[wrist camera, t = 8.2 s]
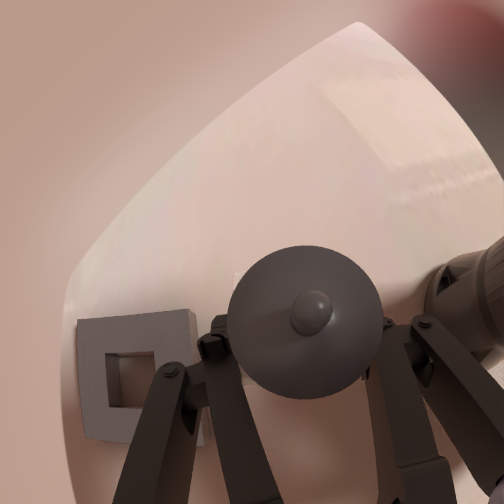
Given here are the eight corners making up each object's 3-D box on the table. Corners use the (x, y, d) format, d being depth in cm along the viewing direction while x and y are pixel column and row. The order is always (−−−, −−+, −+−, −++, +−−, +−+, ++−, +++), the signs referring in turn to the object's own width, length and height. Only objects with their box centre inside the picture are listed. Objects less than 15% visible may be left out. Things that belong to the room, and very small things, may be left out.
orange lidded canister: (316, 313, 20) (375, 206, 7) (328, 376, 18) (423, 375, 5) (252, 324, 20) (206, 232, 7) (261, 388, 18) (227, 420, 5)
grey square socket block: (195, 314, 30) (188, 308, 28) (211, 439, 25) (204, 446, 22) (91, 324, 31) (77, 319, 28) (99, 434, 25) (85, 437, 22)
